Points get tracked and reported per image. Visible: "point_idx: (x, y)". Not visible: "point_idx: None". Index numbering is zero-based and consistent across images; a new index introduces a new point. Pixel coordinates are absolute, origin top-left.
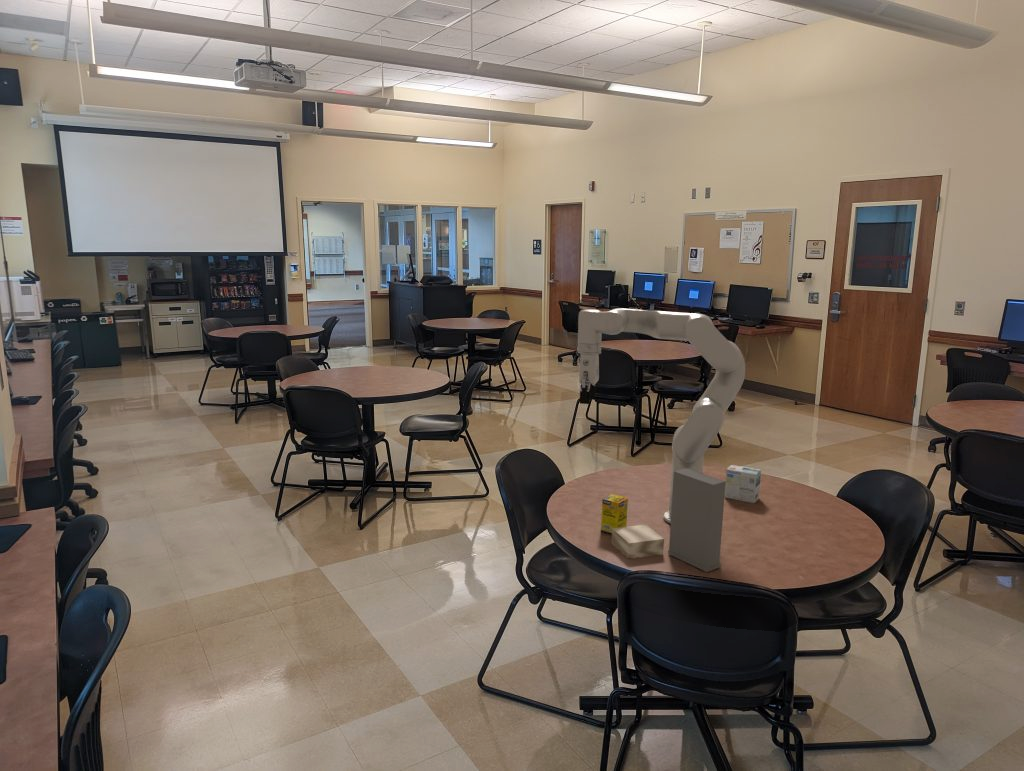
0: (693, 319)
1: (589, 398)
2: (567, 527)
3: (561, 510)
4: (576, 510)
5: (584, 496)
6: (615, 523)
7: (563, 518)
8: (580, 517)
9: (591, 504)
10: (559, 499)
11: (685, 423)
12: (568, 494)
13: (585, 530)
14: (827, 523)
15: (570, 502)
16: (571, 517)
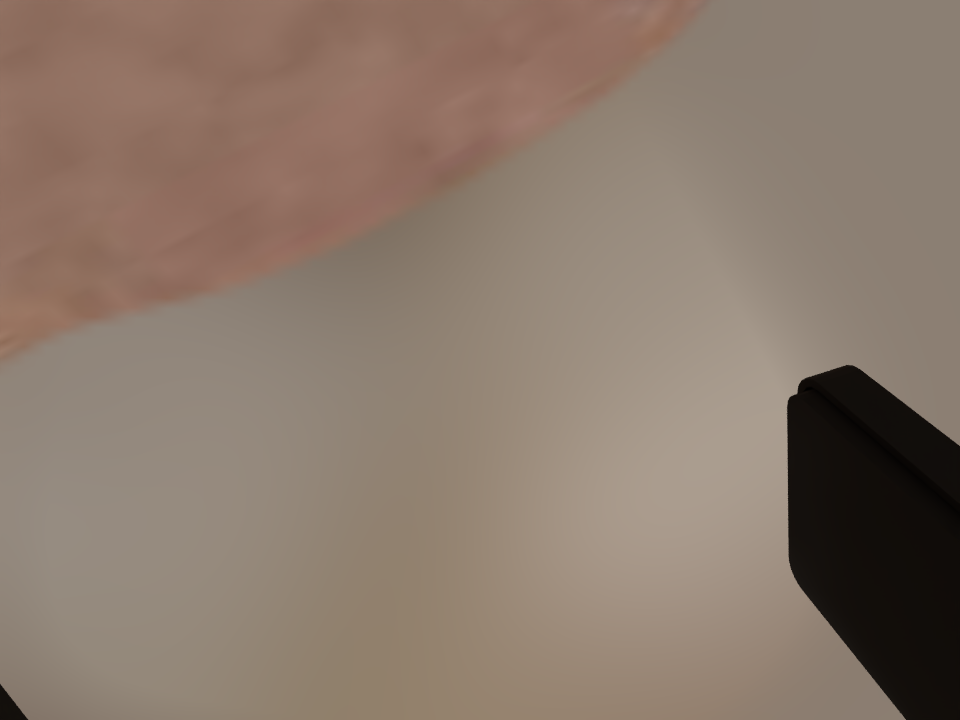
0: None
1: (956, 450)
2: (622, 15)
3: (400, 170)
4: (347, 90)
5: (72, 161)
6: None
7: (509, 100)
8: (442, 13)
9: (182, 49)
10: (240, 269)
11: None
12: (118, 267)
13: None
14: None
15: (243, 188)
16: (471, 64)
